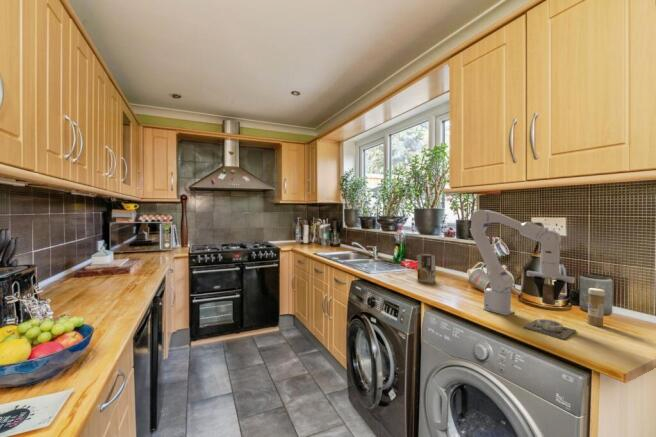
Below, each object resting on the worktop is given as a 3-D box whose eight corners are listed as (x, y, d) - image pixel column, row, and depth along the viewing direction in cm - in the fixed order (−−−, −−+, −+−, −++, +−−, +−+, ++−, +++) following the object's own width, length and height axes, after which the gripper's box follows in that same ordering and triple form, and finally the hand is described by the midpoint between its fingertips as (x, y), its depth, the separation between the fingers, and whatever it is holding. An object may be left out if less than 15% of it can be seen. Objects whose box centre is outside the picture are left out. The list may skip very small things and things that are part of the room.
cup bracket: (523, 327, 104) (523, 321, 104) (536, 321, 111) (536, 314, 111) (564, 340, 94) (564, 332, 94) (576, 331, 101) (576, 324, 101)
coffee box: (435, 281, 174) (436, 255, 174) (431, 283, 169) (431, 256, 169) (421, 279, 180) (422, 253, 180) (416, 280, 176) (417, 254, 175)
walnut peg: (540, 302, 110) (540, 284, 110) (544, 300, 112) (544, 283, 112) (553, 305, 107) (553, 286, 107) (556, 303, 109) (557, 285, 109)
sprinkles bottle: (583, 322, 110) (585, 287, 110) (594, 322, 111) (595, 287, 111) (596, 327, 106) (597, 290, 106) (607, 326, 106) (608, 290, 106)
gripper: (577, 264, 106) (576, 301, 106) (531, 259, 117) (530, 292, 118) (571, 266, 101) (570, 304, 102) (524, 260, 113) (523, 294, 113)
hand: (548, 298), depth 109 cm, fingers closed on walnut peg, 4 cm apart
